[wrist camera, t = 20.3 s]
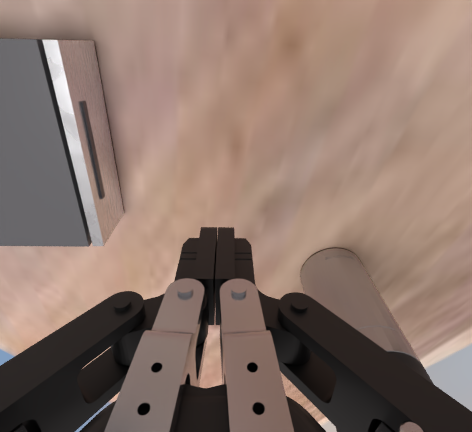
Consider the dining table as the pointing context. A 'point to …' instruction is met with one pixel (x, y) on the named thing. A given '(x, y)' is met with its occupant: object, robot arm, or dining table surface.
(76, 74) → the tray
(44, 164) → the housing
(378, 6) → the dining table surface
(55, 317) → the dining table surface
